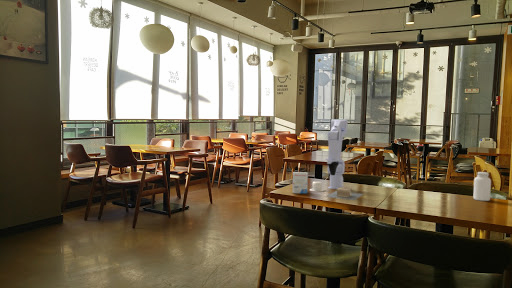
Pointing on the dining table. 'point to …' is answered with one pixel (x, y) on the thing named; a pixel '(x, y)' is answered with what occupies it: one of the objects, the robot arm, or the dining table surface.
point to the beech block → (344, 192)
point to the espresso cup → (317, 186)
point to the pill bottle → (482, 187)
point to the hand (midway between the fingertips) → (332, 175)
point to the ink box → (300, 182)
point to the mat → (352, 197)
